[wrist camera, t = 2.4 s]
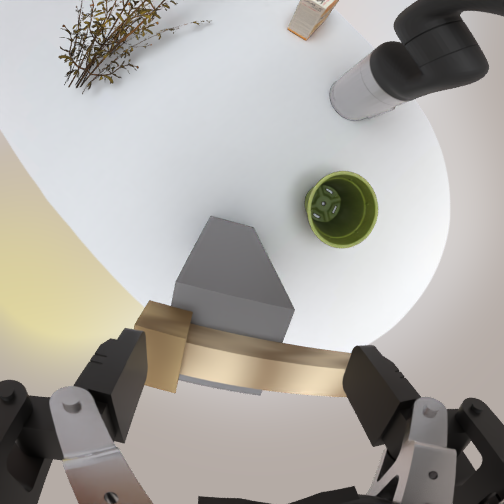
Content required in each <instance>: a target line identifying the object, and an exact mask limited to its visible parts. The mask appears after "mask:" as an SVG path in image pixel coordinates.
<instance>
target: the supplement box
mask: <svg viewBox="0 0 504 504" xmlns="http://www.w3.org/2000/svg"><path fill="white" fill-rule="evenodd" d="M338 1H339V0H300V2H299V4H298V6H297V9H296V11H295V13H294V15H293V18H292V20H291V22H290V24H289V27H288V30H289V31H291V32H293V33H294V34H296V35H298V36H299V37H301V38H303V39H304V40H307V39H308V38H309V37H310V36H311V35H312V33H313V32H314V31H315V30H316V29H317V28H318V27H319V26H320V25H321V24H322V23H323V22H324V21H325V20H326V18H327V17H328V15H329V14H330V12H331V11H332V10H333V8H334V7H335V5H336V4H337V2H338Z"/></svg>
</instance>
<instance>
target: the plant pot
mask: <svg viewBox="0 0 504 504" xmlns="http://www.w3.org/2000/svg"><path fill="white" fill-rule="evenodd" d="M326 189H329V190H331V191H332V192H333V193H332V194H331V193H330V192H328V191H326ZM322 202H325V203H326V204H325V205H324V206H323V205H322ZM335 206H337V208H336V210H335V213H333V212H332V211H333V210H334V208H335ZM305 209H306V212H307V214H308V220H309V224H310V226H311V228H312V230H313V232H314V234H315V235H316V236H317V237H318V238H319V239H320V240H321V241H322V242H324V243H325V244H327V245H329V246H331V247H335V248H349V247H352V246H355V245H357V244H359V243H361V242H362V241H363V240H364V239H366V238H367V237H368V235H369V234H370V233H371V231H372V230H373V228H374V226H375V223H376V221H377V216H378V203H377V198H376V195H375V192H374V190H373V188H372V187H371V185H370V184H369V183H368V182H367V181H366V180H365V179H364V178H363V177H361V176H360V175H358V174H356V173H353V172H349V171H338V172H334V173H331V174H329V175H327V176H325V177H324V178H322V179H321V180H320V181H319V182H318V183H317V184H316V185H315V186H314V187H313V188H312V189H311V190H310V191H309V192H308V193H307V195H306V198H305ZM311 210H312V211H311ZM314 213H315V214H317V215H319V216H320V218H317V217H315V216H314V215H313V214H314Z"/></svg>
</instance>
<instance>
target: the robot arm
mask: <svg viewBox="0 0 504 504" xmlns="http://www.w3.org/2000/svg"><path fill="white" fill-rule="evenodd" d="M463 11H481V12H487V13H492V14H497V15H501V16H504V0H418V1H416V2H414V3H413V4H412V5H410V6H409V7H408V8H406V9H405V10H404V11H402V13H400V14H399V15H398V17H397V18H396V20H395V22H394V30H395V32H396V34H397V36H398V38H399V39H400V40H401V42H402V43H400V42H395V41H393V42H392V41H390V42H385V43H383V44H381V45H380V46H378V47H377V48H376V49H375V50H373V51H372V52H371V53H370V54H368V55H367V56H366V57H365V58H364V59H362V60H361V61H360V62H359V63H357V64H356V65H355V66H354V67H353V68H351V69H350V70H349V71H348V72H347V73H345V74H344V75H343V76H342V77H341V78H339V79H338V80H337V81H336V82H335V83H334V84H333V85H332V87H331V89H330V100H331V103H332V105H333V107H334V109H335V110H336V111H337V112H338V113H339V114H340V115H341V116H343V117H344V118H346V119H349V120H356V121H357V120H362V119H364V118H372V117H375V116H377V115H380V114H383V113H385V112H388V111H391V110H393V109H395V106H397V105H400V104H402V103H405V102H408V101H411V100H413V99H416V98H418V97H421V96H424V95H427V94H430V93H434V92H438V91H442V90H447V89H452V88H456V87H460V86H464V85H468V84H471V83H473V82H476V81H478V80H480V79H481V78H483V77H484V76H485V74H487V72H488V70H489V65H488V62H487V59H486V58H485V56H484V54H483V52H482V50H481V48H480V47H479V45H478V43H477V42H476V40H475V38H474V37H473V35H472V33H471V32H470V31H469V29H468V27H467V26H466V24H465V23H464V22H463V20H462V18H461V17H460V14H461V12H463ZM147 372H148V362H147V348H146V335H145V332H144V331H140V330H134V329H128V328H125V329H124V330H123V331H122V333H121V335H120V336H119V337H118V339H117V340H115V339H109V340H107V341H106V342H104V343H103V344H101V345H100V346H99V348H98V349H97V351H96V352H95V355H93V357H92V358H91V360H90V362H89V363H88V364H87V366H86V367H85V369H84V370H83V372H82V373H81V375H80V376H79V378H78V379H77V381H76V382H75V384H74V386H68V387H63V388H60V389H59V390H57V391H55V392H54V393H53V394H52V396H51V397H38V396H29V395H28V393H27V391H26V389H25V387H24V386H23V385H22V384H21V383H20V382H18V381H15V380H5V381H1V382H0V504H37V503H38V500H39V497H40V494H41V491H42V488H43V485H44V482H45V479H46V476H47V474H48V471H49V468H50V466H51V463H52V460H53V459H57V460H62V462H63V466H64V469H65V471H66V474H67V477H68V479H69V482H70V484H71V487H72V489H73V492H74V494H75V496H76V498H77V501H78V503H79V504H153V503H152V501H151V500H150V498H149V497H148V495H147V494H146V492H145V491H144V490H143V488H142V486H141V485H140V483H139V482H138V480H137V479H136V477H135V475H134V474H133V472H132V471H131V469H130V467H129V466H128V464H127V462H126V460H125V459H124V457H123V455H122V453H121V452H120V450H119V449H118V448H117V447H116V446H115V444H114V441H117V442H121V443H125V440H126V437H127V434H128V431H129V428H130V425H131V422H132V419H133V416H134V413H135V410H136V407H137V404H138V401H139V398H140V395H141V392H142V390H143V387H144V384H145V381H146V378H147ZM342 385H343V390H344V392H345V394H346V396H347V398H348V399H349V401H350V403H351V405H352V407H353V409H354V411H355V413H356V414H357V417H358V419H359V421H360V423H361V424H362V427H363V428H364V430H365V432H366V434H367V436H368V438H369V440H370V442H371V444H372V446H373V447H375V446H379V445H383V444H385V445H386V449H385V450H384V451H383V453H382V457H381V460H380V463H379V466H378V469H377V471H376V474H375V477H374V480H373V482H372V485H371V487H370V489H369V491H368V492H367V494H366V495H360V494H357V491H356V489H355V487H354V486H352V487H348V488H343V489H338V490H333V491H327V492H321V493H318V494H315V495H313V496H310V497H307V498H304V499H302V500H298V501H296V502H292V503H290V504H452V503H453V504H504V425H503V424H502V422H501V421H500V420H499V419H498V418H497V417H496V415H495V414H494V413H493V412H492V411H491V410H490V408H489V407H488V406H487V405H486V404H485V403H484V402H482V401H481V400H479V399H476V398H467V399H465V400H464V401H463V403H462V404H461V406H460V408H459V409H446V408H445V406H444V405H443V404H442V403H441V402H440V401H438V400H436V399H434V398H430V397H421V396H420V395H419V394H418V393H417V392H416V390H415V389H414V388H413V386H412V385H411V384H410V383H409V381H408V380H407V379H406V378H404V375H403V374H402V373H401V372H399V369H398V368H397V367H396V366H395V364H394V363H393V362H391V361H390V360H388V359H387V358H385V357H384V356H382V355H381V353H380V352H379V351H378V350H377V349H376V347H375V346H373V345H365V346H355V347H354V349H353V350H352V353H351V356H350V359H349V362H348V365H347V367H346V370H345V373H344V376H343V381H342ZM470 441H472V442H473V444H474V445H475V446H476V448H477V449H478V451H479V452H480V454H481V455H482V459H483V461H482V464H481V466H480V468H479V469H478V470H477V471H475V469H474V468H473V466H472V464H471V463H470V461H469V460H468V458H467V457H466V455H465V454H464V452H463V450H464V449H465V448H466V446H467V445H468V444H469V443H470ZM198 504H269V503H263V502H256V501H250V500H246V499H240V498H215V497H200V496H199V497H198Z"/></svg>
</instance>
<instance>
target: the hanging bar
mask: <svg viewBox="0 0 504 504" xmlns="http://www.w3.org/2000/svg"><path fill="white" fill-rule="evenodd" d="M192 314H193V312H191V311H187V310H183V309H180V308H176V307H172V306H168V305H165V304H161V303H157V302H154V301H150V300H149V302H148V304H147V305H146V307H145V308H144V310H143V312H142V313H141V315H140V317H139V318H138V320H137V322H136V323H135V326H134V330H140V331H144V332H145V335H146V348H147V362H148V372H147V378H146V381H145V384H144V385H147V386H150V387H154V388H157V389H161V390H165V391H169V392H172V393H176V388H177V384H178V379H179V374H182V375H186V376H190V377H195V378H199V379H204V380H208V381H213V382H218V383H224V384H229V385H235V386H240V387H247V388H253V389H260V390H268V391H275V392H284V393H293V394H303V395H317V396H332V397H347V396H346V394H345V392H344V390H343V385H342V381H343V376H344V373H345V370H346V367H347V365H348V362H349V359H350V356H351V353H346V352H338V351H330V350H323V349H316V348H310V347H303V346H297V345H291V344H285V343H279V342H274V341H268V340H263V339H258V338H253V337H248V336H243V335H238V334H234V333H229V332H224V331H220V330H216V329H211V328H207V327H203V326H199V325H195V324H191V318H192Z"/></svg>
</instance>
